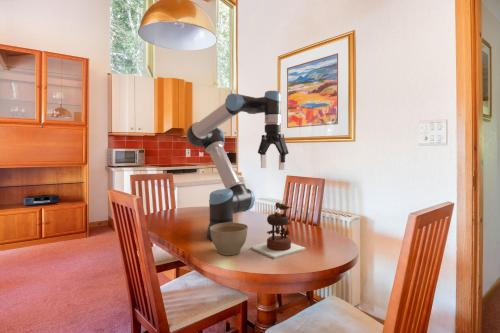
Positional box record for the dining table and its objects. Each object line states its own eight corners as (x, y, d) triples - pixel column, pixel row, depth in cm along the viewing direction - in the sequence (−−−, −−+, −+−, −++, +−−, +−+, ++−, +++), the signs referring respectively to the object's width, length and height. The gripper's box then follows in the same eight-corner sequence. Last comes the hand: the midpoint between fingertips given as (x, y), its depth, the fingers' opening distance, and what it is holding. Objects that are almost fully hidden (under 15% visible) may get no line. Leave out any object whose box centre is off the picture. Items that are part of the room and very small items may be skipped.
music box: (279, 240, 140) (282, 199, 138) (297, 248, 132) (301, 204, 130) (255, 247, 130) (258, 202, 128) (274, 256, 122) (277, 208, 120)
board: (250, 248, 132) (250, 246, 132) (280, 240, 143) (280, 239, 143) (274, 258, 119) (274, 256, 119) (305, 249, 130) (305, 247, 130)
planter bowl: (232, 243, 139) (232, 220, 138) (255, 252, 127) (255, 227, 126) (202, 251, 128) (202, 226, 128) (225, 261, 116) (225, 234, 116)
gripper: (251, 125, 150) (250, 167, 151) (284, 122, 130) (283, 170, 131) (262, 126, 154) (262, 167, 155) (296, 122, 134) (296, 170, 135)
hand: (272, 168), depth 143 cm, fingers open, 13 cm apart
